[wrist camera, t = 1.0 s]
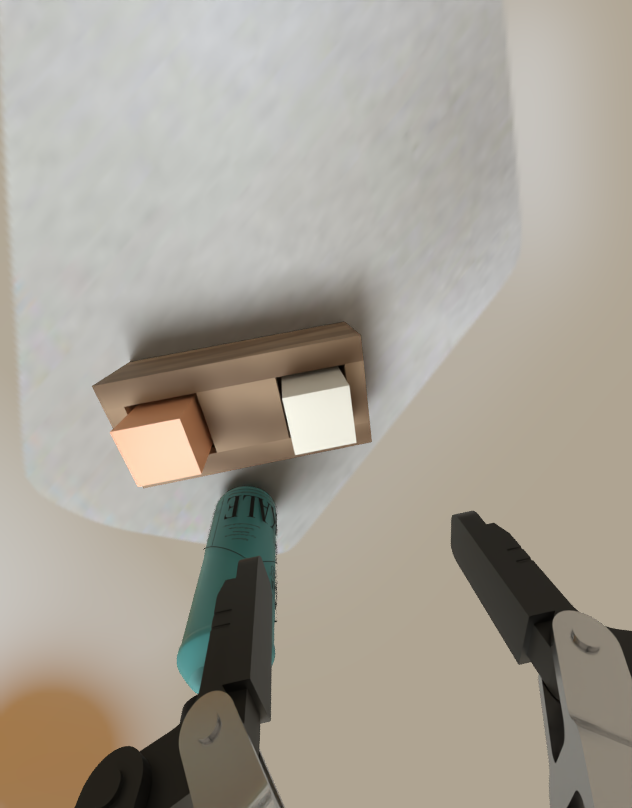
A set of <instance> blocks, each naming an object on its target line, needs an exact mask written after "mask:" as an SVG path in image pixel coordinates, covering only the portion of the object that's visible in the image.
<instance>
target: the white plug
mask: <svg viewBox="0 0 632 808" xmlns="http://www.w3.org/2000/svg"><path fill="white" fill-rule="evenodd" d="M281 377H282V400H283V404H284V408H285V413H286V417H287V422H288V426H289V430H290V435H291V439H292V443H293V448H294V452H295V455H299V454H304V453H309V452H314V451H318V450H323V449H328V448H333V447H338V446H343V445H348V444H353V443H357V442H356V434H355V426H354V419H353V411H352V403H351V395H350V387H349V384H348V382H347V381H346V379H345V377H344V376H343V374H342V372H341V371H340V369H339V368H338V366H333V367H328V368H322V369H317V370H312V371H307V372H302V373H297V374H291V375H286V376H281Z"/></svg>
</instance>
